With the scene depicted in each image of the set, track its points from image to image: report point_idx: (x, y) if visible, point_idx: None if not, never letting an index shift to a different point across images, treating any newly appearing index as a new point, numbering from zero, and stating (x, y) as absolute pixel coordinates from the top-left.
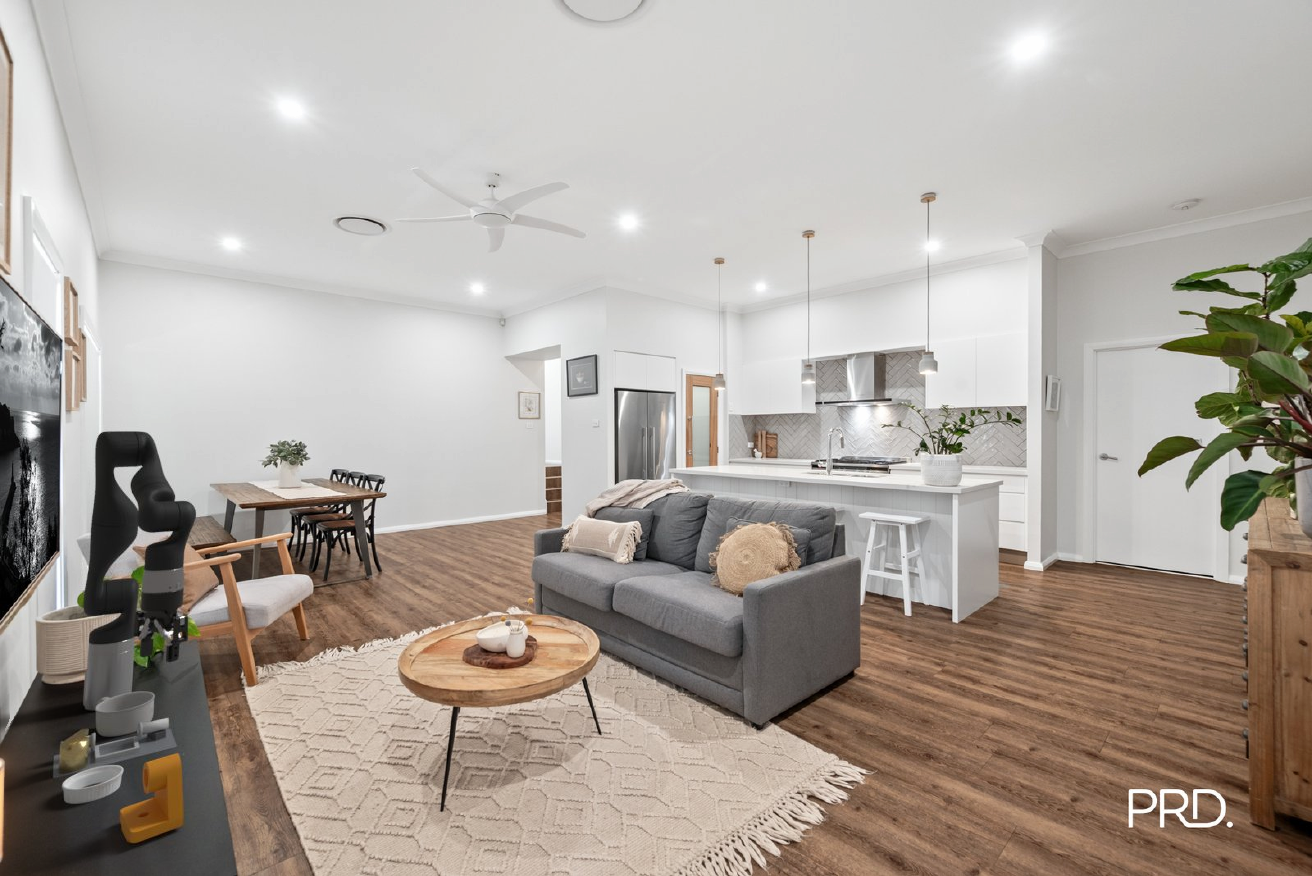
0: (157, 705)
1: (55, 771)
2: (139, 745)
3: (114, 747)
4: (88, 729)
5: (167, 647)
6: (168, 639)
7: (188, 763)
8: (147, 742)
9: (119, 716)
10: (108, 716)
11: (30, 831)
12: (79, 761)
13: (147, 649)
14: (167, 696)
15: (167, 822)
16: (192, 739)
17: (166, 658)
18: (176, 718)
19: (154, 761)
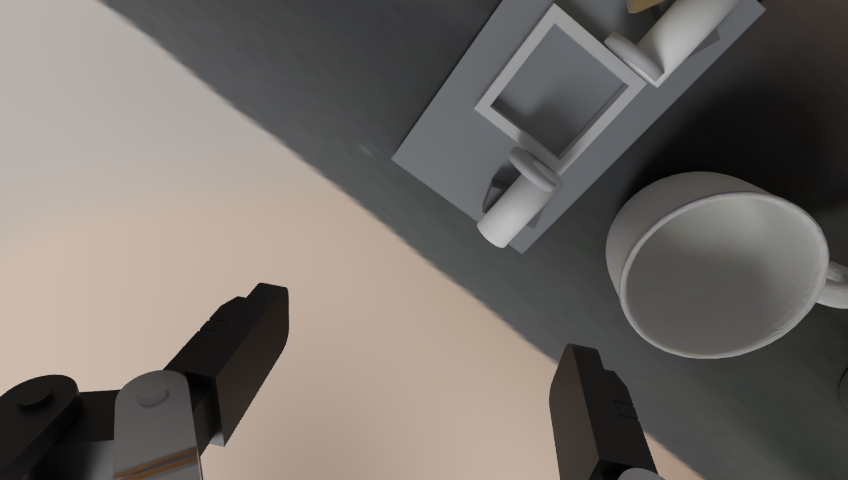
0: (721, 384)
1: None
2: (515, 143)
3: (587, 113)
4: (634, 12)
5: (209, 365)
6: (133, 434)
7: (297, 103)
8: (507, 164)
9: (665, 205)
10: (706, 191)
11: None
12: None
13: (565, 408)
14: (739, 431)
15: None
16: (423, 226)
17: (269, 299)
18: (588, 324)
19: None
